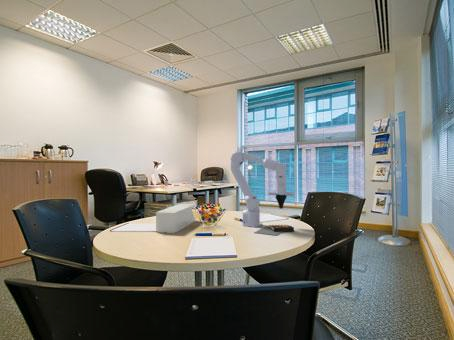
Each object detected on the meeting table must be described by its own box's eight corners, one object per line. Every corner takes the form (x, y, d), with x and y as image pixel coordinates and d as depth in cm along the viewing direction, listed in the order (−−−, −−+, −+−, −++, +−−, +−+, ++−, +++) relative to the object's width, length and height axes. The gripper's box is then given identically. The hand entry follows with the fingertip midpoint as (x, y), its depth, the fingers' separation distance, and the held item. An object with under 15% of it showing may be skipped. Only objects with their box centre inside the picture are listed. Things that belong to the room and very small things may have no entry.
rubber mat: (254, 233, 133) (254, 232, 133) (265, 226, 147) (265, 226, 147) (276, 235, 127) (276, 235, 127) (286, 228, 141) (286, 228, 141)
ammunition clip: (274, 228, 134) (267, 223, 145) (274, 231, 133) (267, 227, 145) (293, 227, 135) (285, 223, 147) (293, 230, 135) (285, 226, 147)
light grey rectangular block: (179, 220, 168) (179, 203, 168) (195, 221, 166) (195, 204, 166) (156, 232, 137) (155, 212, 137) (174, 233, 135) (174, 212, 135)
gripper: (266, 184, 146) (266, 208, 146) (291, 185, 139) (291, 210, 139) (270, 183, 152) (270, 206, 152) (295, 184, 145) (295, 208, 145)
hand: (281, 208), depth 146 cm, fingers closed
